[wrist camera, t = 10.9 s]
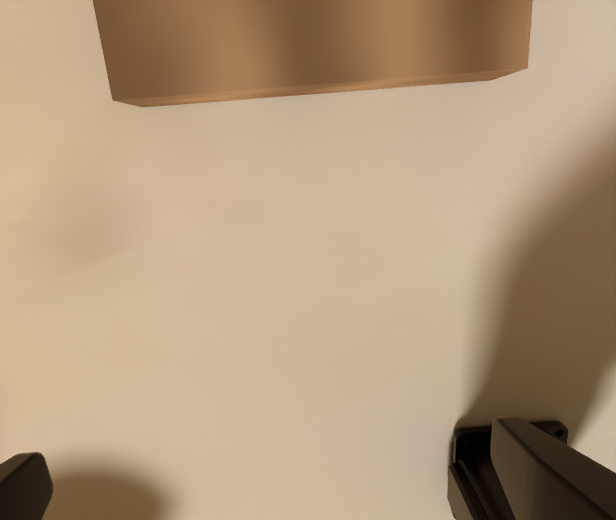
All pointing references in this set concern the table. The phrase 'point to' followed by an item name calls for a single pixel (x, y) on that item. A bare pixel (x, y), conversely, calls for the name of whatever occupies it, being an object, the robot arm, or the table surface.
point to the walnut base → (303, 46)
